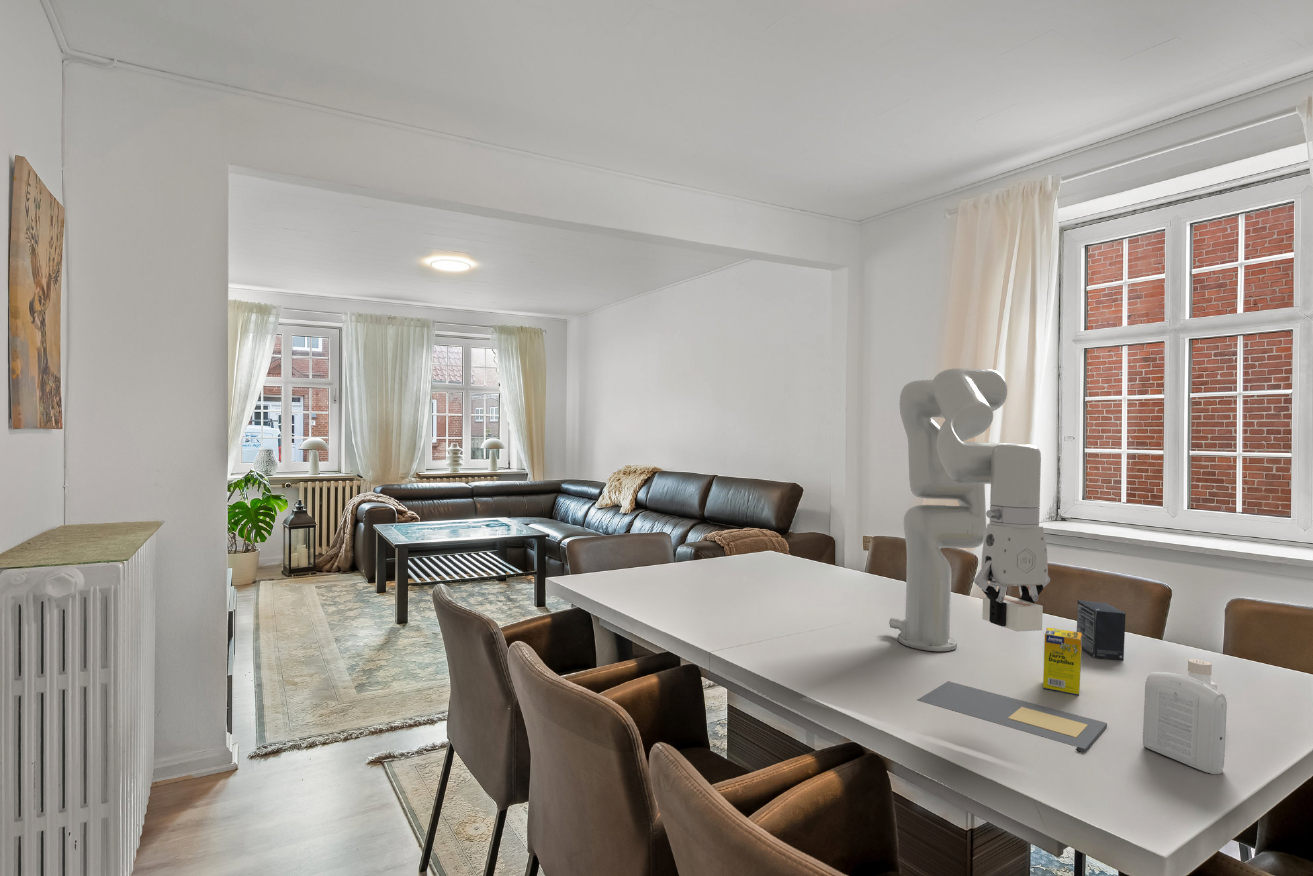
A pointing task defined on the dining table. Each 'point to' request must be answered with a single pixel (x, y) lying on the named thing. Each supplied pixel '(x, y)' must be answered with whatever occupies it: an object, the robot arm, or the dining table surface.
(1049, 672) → the supplement box
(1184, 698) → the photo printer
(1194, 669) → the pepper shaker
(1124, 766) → the dining table surface
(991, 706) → the mat
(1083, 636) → the small box
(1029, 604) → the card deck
